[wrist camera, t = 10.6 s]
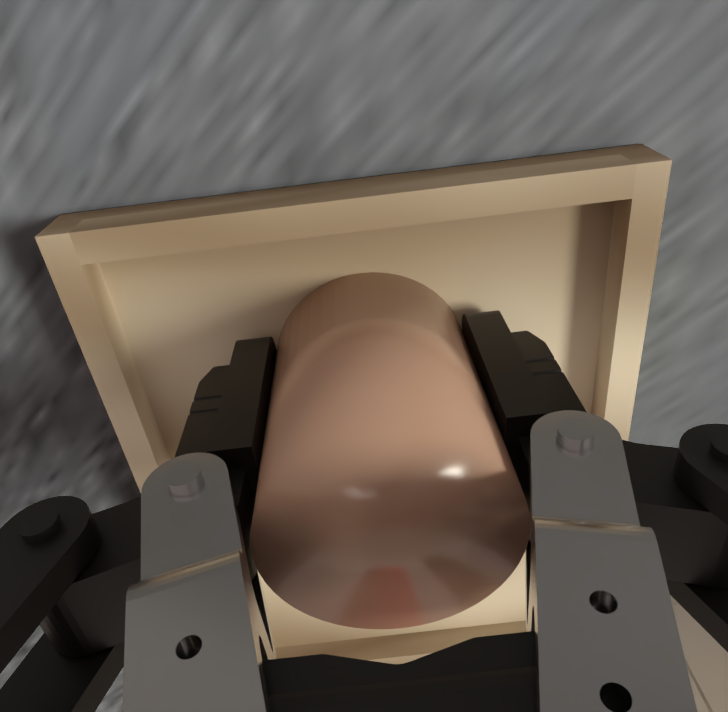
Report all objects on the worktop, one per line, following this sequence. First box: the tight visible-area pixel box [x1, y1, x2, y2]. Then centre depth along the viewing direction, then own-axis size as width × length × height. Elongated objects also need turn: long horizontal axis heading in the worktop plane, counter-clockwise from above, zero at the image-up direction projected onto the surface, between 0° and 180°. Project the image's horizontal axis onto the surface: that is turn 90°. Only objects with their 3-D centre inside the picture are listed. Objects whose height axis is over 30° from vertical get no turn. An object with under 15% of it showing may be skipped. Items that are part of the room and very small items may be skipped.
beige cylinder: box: [250, 272, 531, 629], centre depth 11 cm, size 4×4×5 cm
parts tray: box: [35, 144, 672, 664], centre depth 15 cm, size 14×11×1 cm
